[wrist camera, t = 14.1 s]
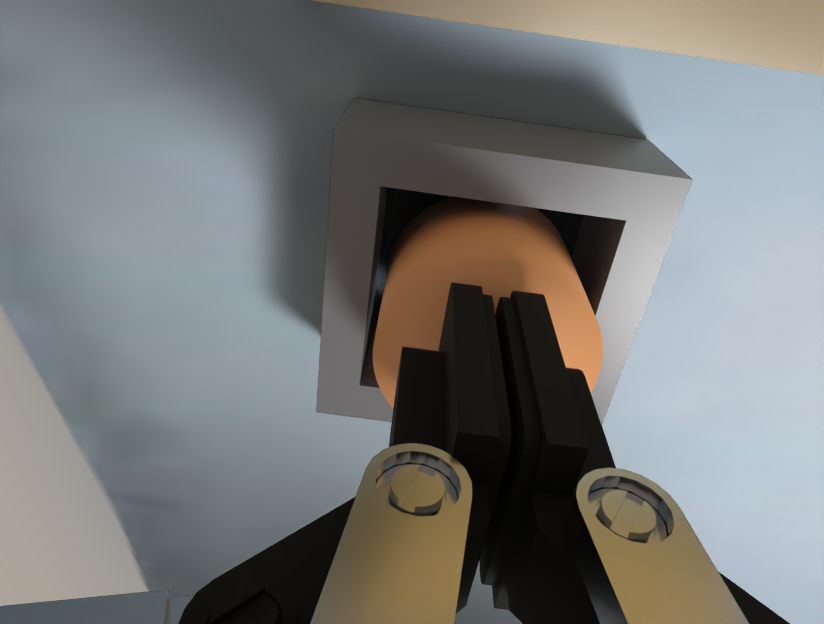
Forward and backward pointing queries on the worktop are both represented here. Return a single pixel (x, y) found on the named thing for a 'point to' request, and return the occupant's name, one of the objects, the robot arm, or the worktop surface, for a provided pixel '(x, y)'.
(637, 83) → the worktop surface
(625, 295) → the button housing
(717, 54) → the picture board
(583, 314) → the button
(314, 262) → the worktop surface
